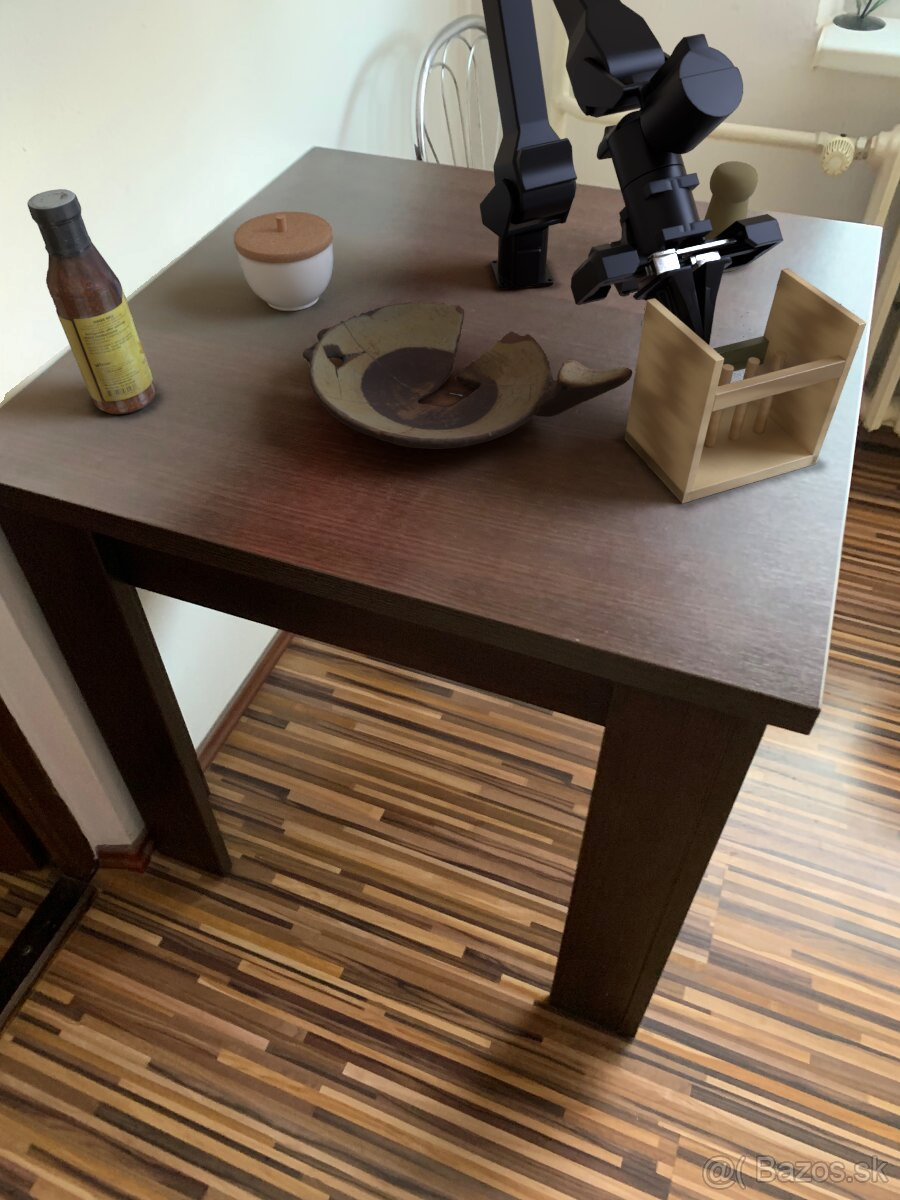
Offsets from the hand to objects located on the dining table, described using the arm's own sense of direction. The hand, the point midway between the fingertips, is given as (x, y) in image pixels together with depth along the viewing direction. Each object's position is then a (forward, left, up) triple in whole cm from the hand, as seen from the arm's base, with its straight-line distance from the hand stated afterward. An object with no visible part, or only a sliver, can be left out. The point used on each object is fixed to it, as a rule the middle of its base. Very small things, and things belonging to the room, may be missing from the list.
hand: (702, 352), depth 79 cm
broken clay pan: (-4, -22, -8) cm, 24 cm away
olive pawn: (-31, +14, -8) cm, 35 cm away
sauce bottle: (-12, -54, -8) cm, 56 cm away
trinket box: (-30, -37, -8) cm, 48 cm away
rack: (+5, +1, -7) cm, 9 cm away
